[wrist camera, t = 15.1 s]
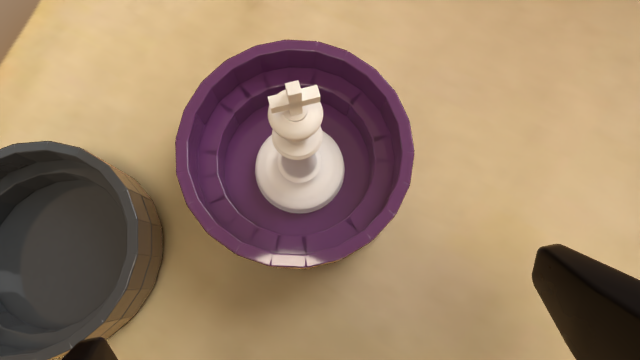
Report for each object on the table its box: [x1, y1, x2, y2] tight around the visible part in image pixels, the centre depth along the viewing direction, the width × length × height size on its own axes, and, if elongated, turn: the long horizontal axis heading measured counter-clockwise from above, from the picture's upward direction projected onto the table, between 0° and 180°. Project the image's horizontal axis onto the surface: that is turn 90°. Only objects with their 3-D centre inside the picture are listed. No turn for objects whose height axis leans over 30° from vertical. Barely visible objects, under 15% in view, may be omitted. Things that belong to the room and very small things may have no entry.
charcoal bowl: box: [0, 141, 163, 360], centre depth 20 cm, size 10×10×4 cm
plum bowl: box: [175, 40, 414, 269], centre depth 21 cm, size 11×11×4 cm
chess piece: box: [255, 80, 345, 214], centre depth 18 cm, size 5×5×10 cm
